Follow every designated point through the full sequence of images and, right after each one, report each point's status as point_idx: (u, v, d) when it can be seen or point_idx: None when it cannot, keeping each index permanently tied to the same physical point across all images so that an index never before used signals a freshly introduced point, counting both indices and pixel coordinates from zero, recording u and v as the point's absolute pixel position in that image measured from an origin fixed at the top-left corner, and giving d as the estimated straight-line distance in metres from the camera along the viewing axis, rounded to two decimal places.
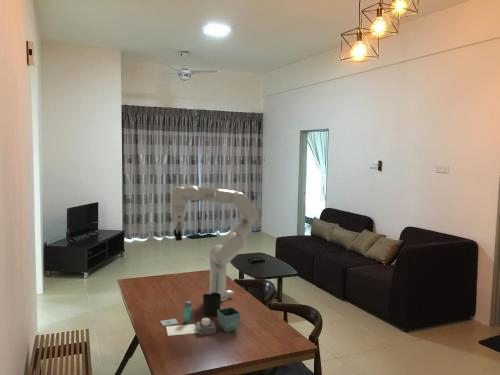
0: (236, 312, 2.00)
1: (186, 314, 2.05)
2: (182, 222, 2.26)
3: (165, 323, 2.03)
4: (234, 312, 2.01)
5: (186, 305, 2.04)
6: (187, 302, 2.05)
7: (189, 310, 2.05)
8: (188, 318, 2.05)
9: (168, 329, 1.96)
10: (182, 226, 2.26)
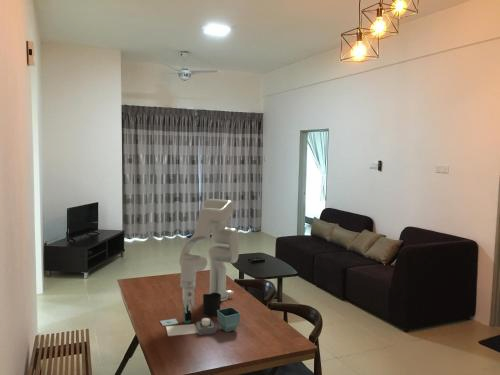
0: (236, 312, 2.00)
1: None
2: (193, 300, 2.01)
3: (165, 323, 2.03)
4: (234, 312, 2.01)
5: None
6: None
7: None
8: None
9: (168, 329, 1.96)
10: (193, 304, 2.01)
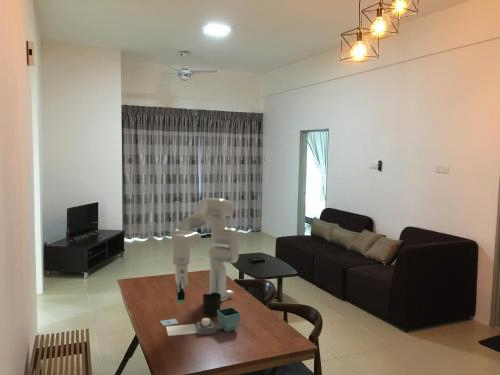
0: (236, 312, 2.00)
1: None
2: (186, 277, 1.89)
3: (165, 323, 2.03)
4: (234, 312, 2.01)
5: None
6: None
7: None
8: None
9: (168, 329, 1.96)
10: (186, 282, 1.89)
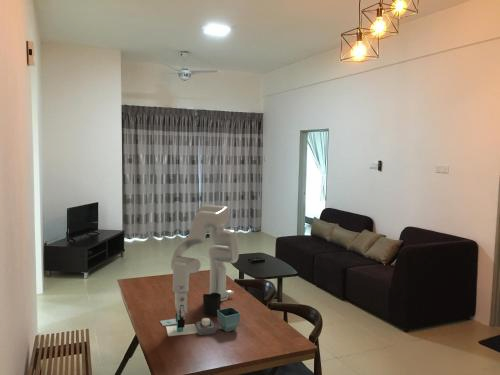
0: (236, 312, 2.00)
1: None
2: (185, 305, 1.90)
3: (165, 323, 2.03)
4: (234, 312, 2.01)
5: None
6: None
7: None
8: None
9: (168, 329, 1.96)
10: (185, 310, 1.90)
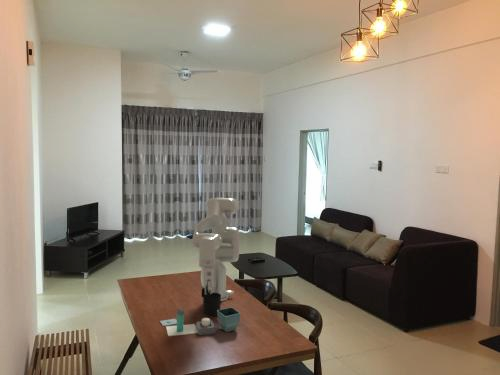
0: (236, 312, 2.00)
1: (178, 322, 1.94)
2: (212, 280, 1.91)
3: (165, 323, 2.03)
4: (234, 312, 2.01)
5: (179, 313, 1.93)
6: (180, 309, 1.94)
7: (182, 318, 1.94)
8: (181, 326, 1.94)
9: (168, 329, 1.96)
10: (212, 284, 1.91)
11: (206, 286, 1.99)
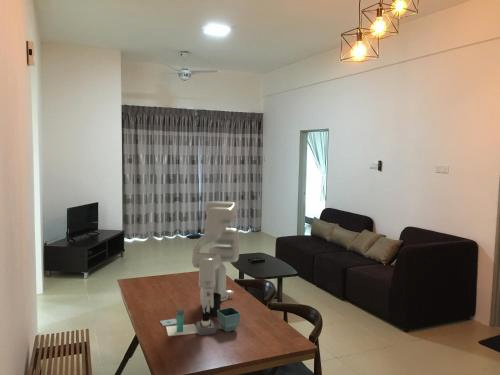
0: (236, 312, 2.00)
1: (178, 322, 1.93)
2: (212, 300, 1.91)
3: (165, 323, 2.03)
4: (234, 312, 2.01)
5: (178, 313, 1.93)
6: (179, 310, 1.94)
7: (181, 318, 1.94)
8: (180, 327, 1.94)
9: (168, 329, 1.96)
10: (212, 305, 1.91)
11: None
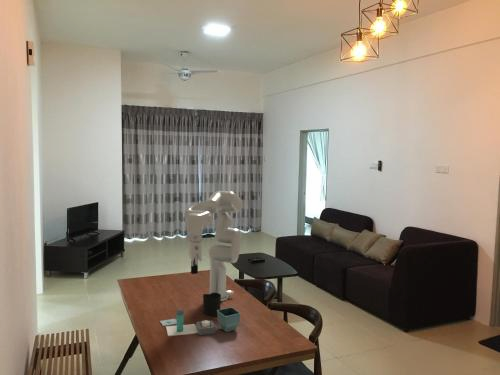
0: (236, 312, 2.00)
1: (178, 323, 1.93)
2: (200, 254, 2.02)
3: (165, 323, 2.03)
4: (234, 312, 2.01)
5: (178, 313, 1.93)
6: (179, 310, 1.94)
7: (181, 318, 1.93)
8: (180, 327, 1.94)
9: (168, 329, 1.96)
10: (200, 258, 2.02)
11: None
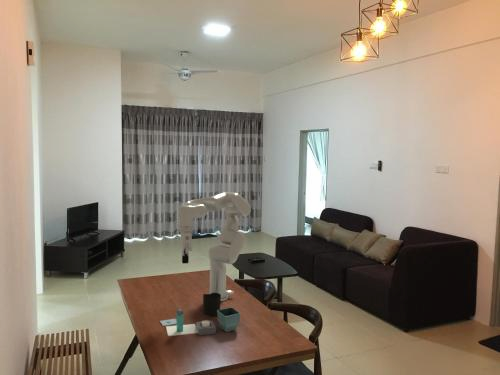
0: (236, 312, 2.00)
1: (178, 323, 1.93)
2: (190, 243, 2.10)
3: (165, 323, 2.03)
4: (234, 312, 2.01)
5: (177, 313, 1.93)
6: (179, 310, 1.94)
7: (181, 318, 1.93)
8: (180, 327, 1.94)
9: (168, 329, 1.96)
10: (190, 248, 2.11)
11: None
